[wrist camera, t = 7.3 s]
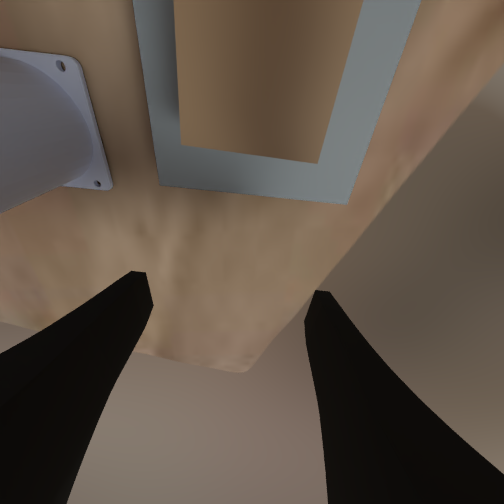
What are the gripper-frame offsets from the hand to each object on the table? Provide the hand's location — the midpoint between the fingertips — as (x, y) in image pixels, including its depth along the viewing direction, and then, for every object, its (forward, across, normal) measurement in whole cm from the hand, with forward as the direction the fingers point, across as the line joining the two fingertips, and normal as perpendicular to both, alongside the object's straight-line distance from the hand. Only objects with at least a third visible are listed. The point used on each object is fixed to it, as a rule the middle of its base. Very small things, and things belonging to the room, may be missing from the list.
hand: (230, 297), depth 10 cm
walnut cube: (+7, 0, -8) cm, 11 cm away
